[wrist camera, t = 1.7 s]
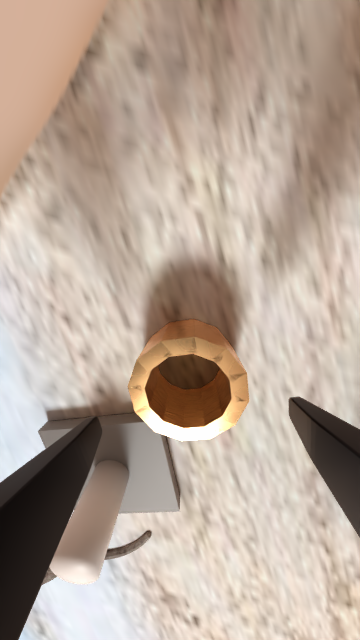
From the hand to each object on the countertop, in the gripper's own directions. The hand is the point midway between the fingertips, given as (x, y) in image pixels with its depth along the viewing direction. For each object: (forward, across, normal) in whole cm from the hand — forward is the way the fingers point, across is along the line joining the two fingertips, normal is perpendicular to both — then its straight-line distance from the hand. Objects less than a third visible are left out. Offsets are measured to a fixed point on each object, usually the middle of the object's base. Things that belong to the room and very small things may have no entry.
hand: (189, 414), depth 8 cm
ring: (+5, 0, 0) cm, 5 cm away
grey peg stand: (+5, +8, +9) cm, 13 cm away
